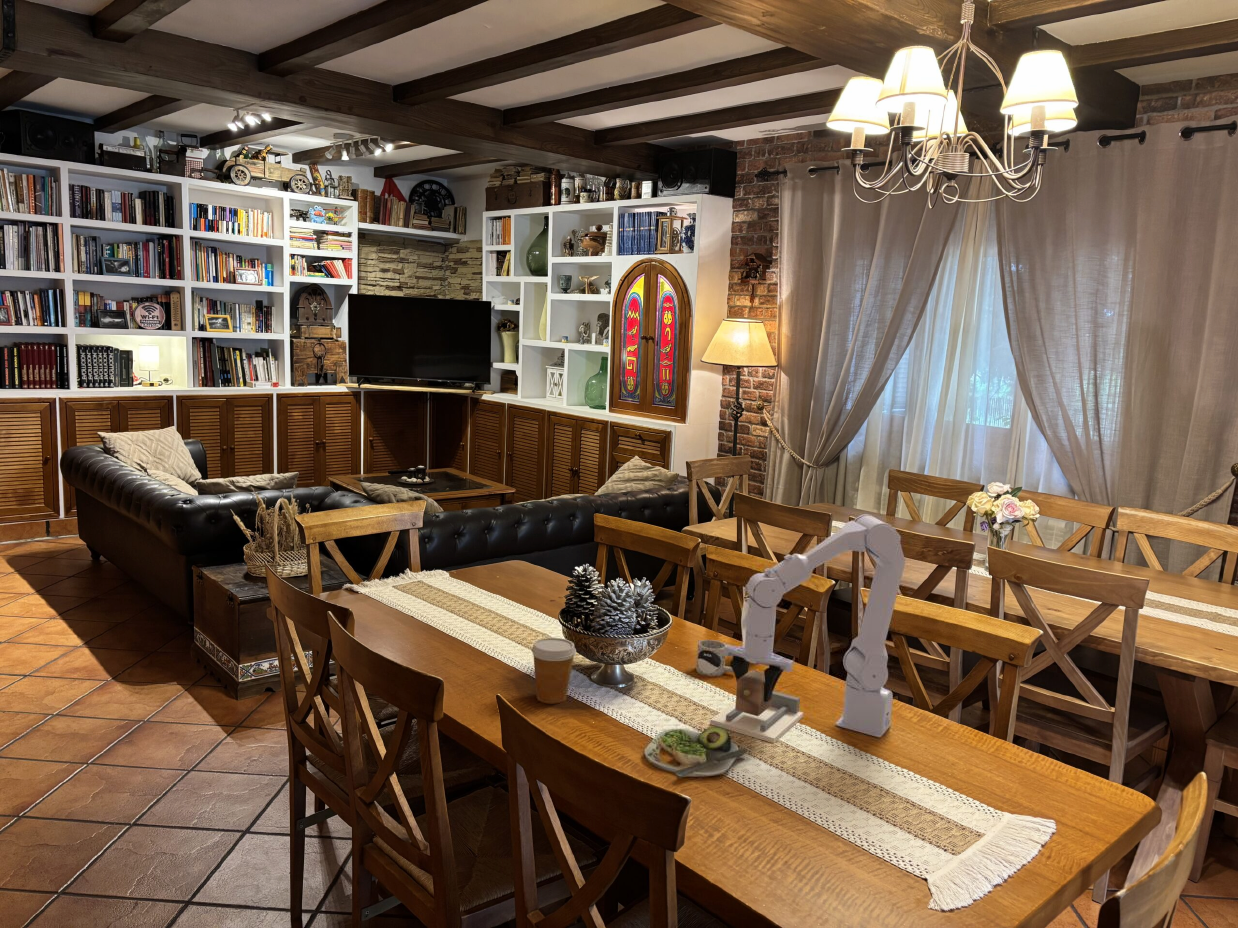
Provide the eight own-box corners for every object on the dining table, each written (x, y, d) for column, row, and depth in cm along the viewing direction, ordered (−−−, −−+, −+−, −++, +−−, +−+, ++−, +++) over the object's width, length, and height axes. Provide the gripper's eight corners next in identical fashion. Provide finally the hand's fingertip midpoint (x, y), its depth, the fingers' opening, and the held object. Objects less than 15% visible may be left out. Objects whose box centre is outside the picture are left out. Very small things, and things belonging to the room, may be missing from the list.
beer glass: (734, 660, 226) (738, 601, 224) (743, 652, 232) (748, 595, 230) (761, 666, 223) (766, 607, 220) (770, 658, 229) (775, 600, 227)
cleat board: (802, 717, 193) (804, 699, 193) (773, 743, 180) (775, 723, 179) (742, 700, 201) (743, 682, 200) (710, 723, 187) (711, 705, 186)
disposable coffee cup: (522, 692, 198) (525, 639, 196) (562, 687, 202) (565, 635, 200) (539, 709, 189) (542, 654, 188) (580, 703, 194) (583, 649, 192)
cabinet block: (771, 705, 189) (773, 675, 188) (756, 717, 182) (758, 686, 182) (749, 699, 192) (751, 669, 191) (733, 711, 185) (735, 680, 184)
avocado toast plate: (721, 796, 158) (723, 771, 158) (627, 771, 165) (628, 747, 165) (752, 753, 176) (754, 730, 175) (666, 732, 183) (667, 710, 182)
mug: (693, 673, 215) (695, 646, 214) (699, 664, 222) (701, 638, 221) (734, 680, 212) (736, 653, 211) (740, 671, 218) (742, 644, 218)
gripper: (719, 629, 186) (714, 693, 188) (786, 645, 178) (780, 711, 180) (733, 621, 192) (728, 683, 194) (799, 637, 184) (793, 701, 186)
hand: (754, 696), depth 187 cm, fingers closed on cabinet block, 5 cm apart
